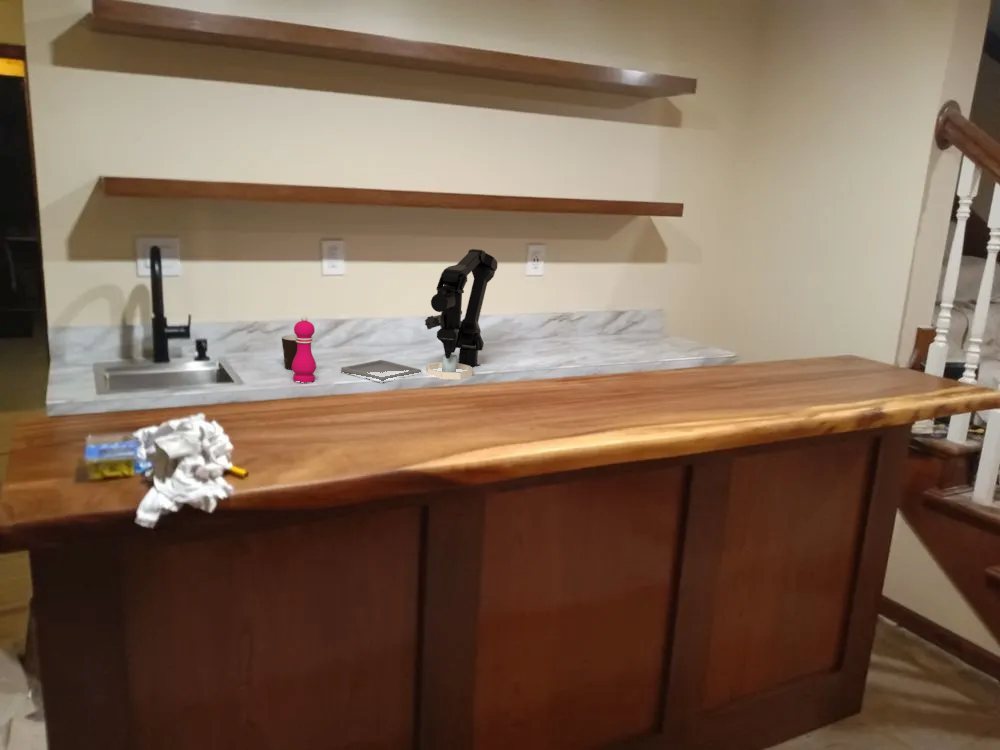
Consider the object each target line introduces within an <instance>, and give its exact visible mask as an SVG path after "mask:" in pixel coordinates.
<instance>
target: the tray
mask: <svg viewBox="0 0 1000 750" xmlns="http://www.w3.org/2000/svg"><path fill="white" fill-rule="evenodd" d="M340 369H341V370H340V373H342V372H344V373H343V374H345V373H349V374H356V375H361V376H366V377H372V378H376V379H379V380H381V381H384V380H386V379H388V378H393V377H397V376H404V375H409V374H414V373H419V372H421V373H422V369H421V368H416V367H412V366H408V365H404V364H400V363H395V362H392V361H388V360H384V359H378V360H372V361H367V362H363V363H357V364H351V365H348V366H342V367H341V368H340ZM404 370H405V371H406V370H409V371H408V372H404V373H399V374H395V375H390V376H385V377H379V376H375V375H371V374H368V373H370V372H380V373H381V372H382V373H383V372H385V371H386V372H387V371H404ZM367 372H368V373H367ZM349 374H348V375H349Z"/></svg>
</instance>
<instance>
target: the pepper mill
mask: <svg viewBox="0 0 1000 750" xmlns="http://www.w3.org/2000/svg"><path fill="white" fill-rule="evenodd" d="M315 330H316V329H315V325H314V324H313V323H312V322H310V321H308V317H307V316H306V315H302V316H301V319H300V321H298V322H296V323H295V325H294V327H293V331H294V335H297V337H296V342H297V353H296V356H295V358H294V360H293V362H292V370H291V371H293V373H294V374H292V375H293V376H292V377H293V379H292V381H293V380H294V381H300V382H312V381H314V382H315V381H316V380H315V374H314V373H315V371H316V370H317V363H316V360H315V358H314V356H313V352H312V343H313V342H314V341H313V339H314V337H313V335H314V334H315ZM294 381H293V382H294ZM312 383H313V382H312Z"/></svg>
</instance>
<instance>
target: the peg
mask: <svg viewBox="0 0 1000 750" xmlns="http://www.w3.org/2000/svg"><path fill="white" fill-rule="evenodd" d="M457 360H458V356H457V355H456V354H454V353H451V356H450V358H449V359H447V358H446V356H445V354H443V355H442V362H443V367H442V372H456V363H458V361H457Z"/></svg>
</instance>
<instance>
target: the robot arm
mask: <svg viewBox="0 0 1000 750" xmlns="http://www.w3.org/2000/svg"><path fill="white" fill-rule="evenodd" d="M497 269H498V261H497V259H496V258H495V257H494V256H493V255H491V254H488V253H486V251H484V250H483V249H478V248H471V249H469V250H468V251H467V254H466V255H465V256H464V257H463V258H462V259H461V260H460V261H459V262H457V264H455V265H454V264H453V265H449V266H448V267H447V266H446V268H444V269H443V271H442V272H441V274H440V277H439V280H438V283H437V286H436V292H437V293H436V294H434V295H433V296H432V297H431V299H430V305H431V308H432V309H433V310H434V311H435V312H438V313H440V314H439V315H435V316H434V315H431V316H427V318H426V319H425V320H424V322H425V323H424V325H425V327H426V329H427V330H431V329H433V328H437V327H440V329H438V330H437V331H436V338H437V339H438V340H439V341H440V342H441V343H442V346H443V351H444V355H445V356H446V358H447V359H449V358H450V356H451V354H455V352H456V349H459V354H458V363H460V364H465V365H469V366H471V367H472V368H475V366H476V367H479V366H481V363H478V355H479V351H483V349H484V341H483V338H482V336H481V332H482V330H481V328H480V325H479V319H480V317H481V311H482V307H483V303H484V300H485V299H484V298H485V293H486V291H487V286H488V283H489V282H490V281H491V280H492V279H493V278H494V277H495V273H496V271H497ZM469 274H472V276H473V281H472V286H471V291H470V295H469V297H468V298H469V299H468V303H467V307H466V311H465V315H464V318H463V319H462V315H463V310H462V303H463V302H462V301H463V294H464V293H465V291H464V288H465V286H466V285H467V282H468V275H469Z"/></svg>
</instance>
